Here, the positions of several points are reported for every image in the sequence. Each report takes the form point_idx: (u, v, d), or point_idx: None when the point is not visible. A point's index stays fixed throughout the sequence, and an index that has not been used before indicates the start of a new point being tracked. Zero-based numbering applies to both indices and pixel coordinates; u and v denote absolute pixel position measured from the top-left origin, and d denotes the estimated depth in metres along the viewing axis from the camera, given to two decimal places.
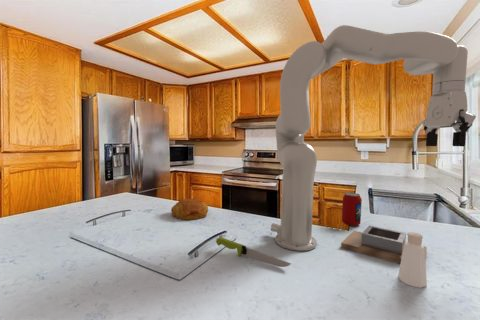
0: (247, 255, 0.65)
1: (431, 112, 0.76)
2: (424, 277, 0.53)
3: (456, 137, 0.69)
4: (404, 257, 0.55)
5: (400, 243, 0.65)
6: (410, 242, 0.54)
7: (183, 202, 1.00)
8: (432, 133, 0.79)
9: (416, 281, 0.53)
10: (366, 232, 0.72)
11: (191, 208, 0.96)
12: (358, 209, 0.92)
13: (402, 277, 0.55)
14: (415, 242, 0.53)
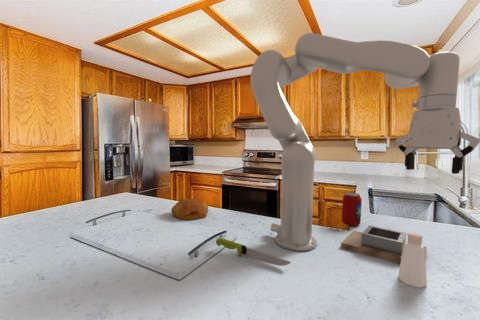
0: (247, 255, 0.65)
1: (419, 130, 0.62)
2: (424, 277, 0.53)
3: (456, 163, 0.57)
4: (404, 257, 0.55)
5: (400, 243, 0.65)
6: (410, 242, 0.54)
7: (183, 202, 1.00)
8: (411, 154, 0.66)
9: (416, 281, 0.53)
10: (366, 232, 0.72)
11: (191, 208, 0.96)
12: (358, 209, 0.92)
13: (402, 277, 0.55)
14: (415, 242, 0.53)
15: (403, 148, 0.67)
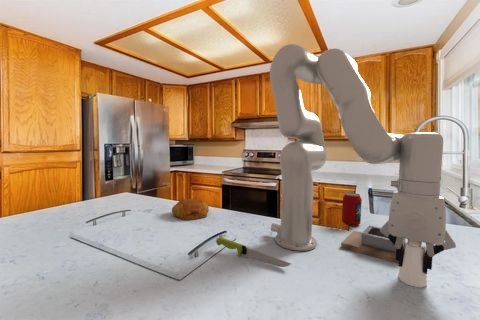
0: (247, 255, 0.65)
1: (402, 217, 0.53)
2: (424, 277, 0.53)
3: (427, 262, 0.52)
4: (404, 257, 0.55)
5: None
6: (410, 242, 0.54)
7: (184, 202, 1.00)
8: (403, 247, 0.56)
9: (416, 281, 0.53)
10: (366, 232, 0.72)
11: (191, 208, 0.96)
12: (358, 209, 0.92)
13: (402, 277, 0.55)
14: (415, 242, 0.53)
15: (393, 239, 0.56)
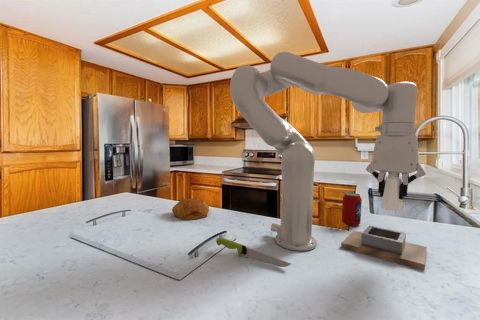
0: (247, 255, 0.65)
1: (383, 154, 0.65)
2: (400, 203, 0.64)
3: (403, 190, 0.64)
4: (385, 188, 0.66)
5: (400, 243, 0.65)
6: (390, 175, 0.65)
7: (184, 202, 1.00)
8: (384, 181, 0.67)
9: (393, 206, 0.64)
10: (366, 232, 0.72)
11: (192, 208, 0.97)
12: (358, 209, 0.92)
13: (383, 204, 0.66)
14: (393, 174, 0.65)
15: (376, 175, 0.68)
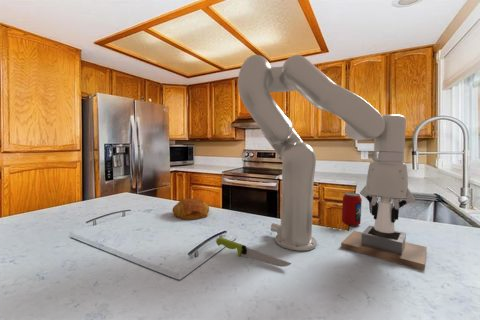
0: (247, 255, 0.65)
1: (376, 180, 0.70)
2: (392, 225, 0.69)
3: (394, 214, 0.68)
4: (378, 211, 0.71)
5: (400, 243, 0.65)
6: (382, 199, 0.70)
7: (184, 202, 1.00)
8: (377, 205, 0.72)
9: (386, 228, 0.69)
10: (366, 232, 0.72)
11: (192, 208, 0.97)
12: (358, 209, 0.92)
13: (376, 227, 0.71)
14: (386, 199, 0.70)
15: (370, 199, 0.73)
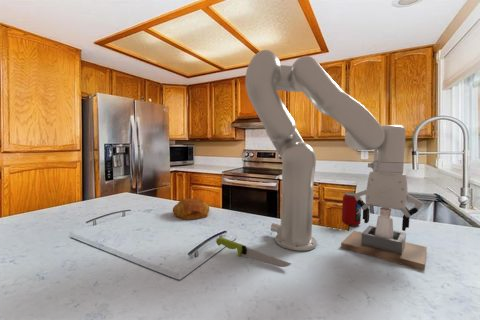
0: (247, 255, 0.65)
1: (375, 190, 0.70)
2: None
3: (405, 222, 0.67)
4: (377, 226, 0.71)
5: (400, 243, 0.65)
6: (382, 214, 0.71)
7: (184, 202, 1.00)
8: (368, 209, 0.74)
9: None
10: (366, 232, 0.72)
11: (192, 208, 0.97)
12: (358, 209, 0.92)
13: None
14: (385, 214, 0.70)
15: (361, 203, 0.74)
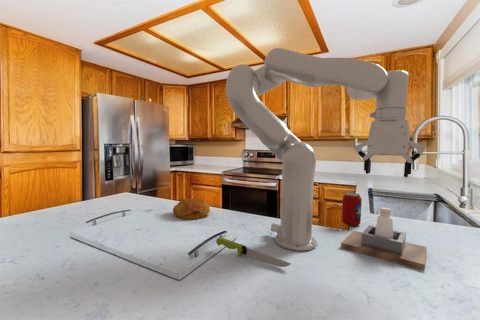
0: (247, 255, 0.65)
1: (377, 138, 0.69)
2: None
3: (407, 168, 0.66)
4: (377, 226, 0.71)
5: (400, 243, 0.65)
6: (381, 214, 0.70)
7: (185, 202, 1.00)
8: (369, 159, 0.73)
9: None
10: (366, 232, 0.72)
11: (192, 208, 0.97)
12: (358, 209, 0.92)
13: None
14: (385, 214, 0.70)
15: (362, 154, 0.73)
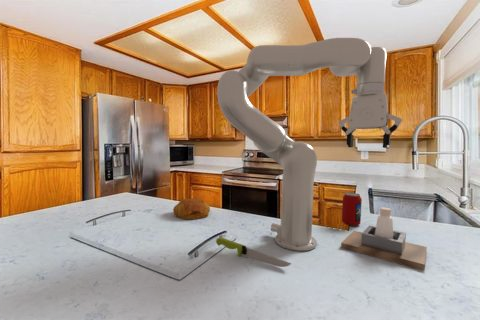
0: (247, 255, 0.65)
1: (358, 112, 0.73)
2: None
3: (386, 139, 0.70)
4: (377, 226, 0.71)
5: (400, 243, 0.65)
6: (381, 214, 0.70)
7: (185, 202, 1.00)
8: (351, 134, 0.77)
9: None
10: (366, 232, 0.72)
11: (193, 208, 0.97)
12: (358, 209, 0.92)
13: None
14: (385, 214, 0.70)
15: (345, 129, 0.77)
